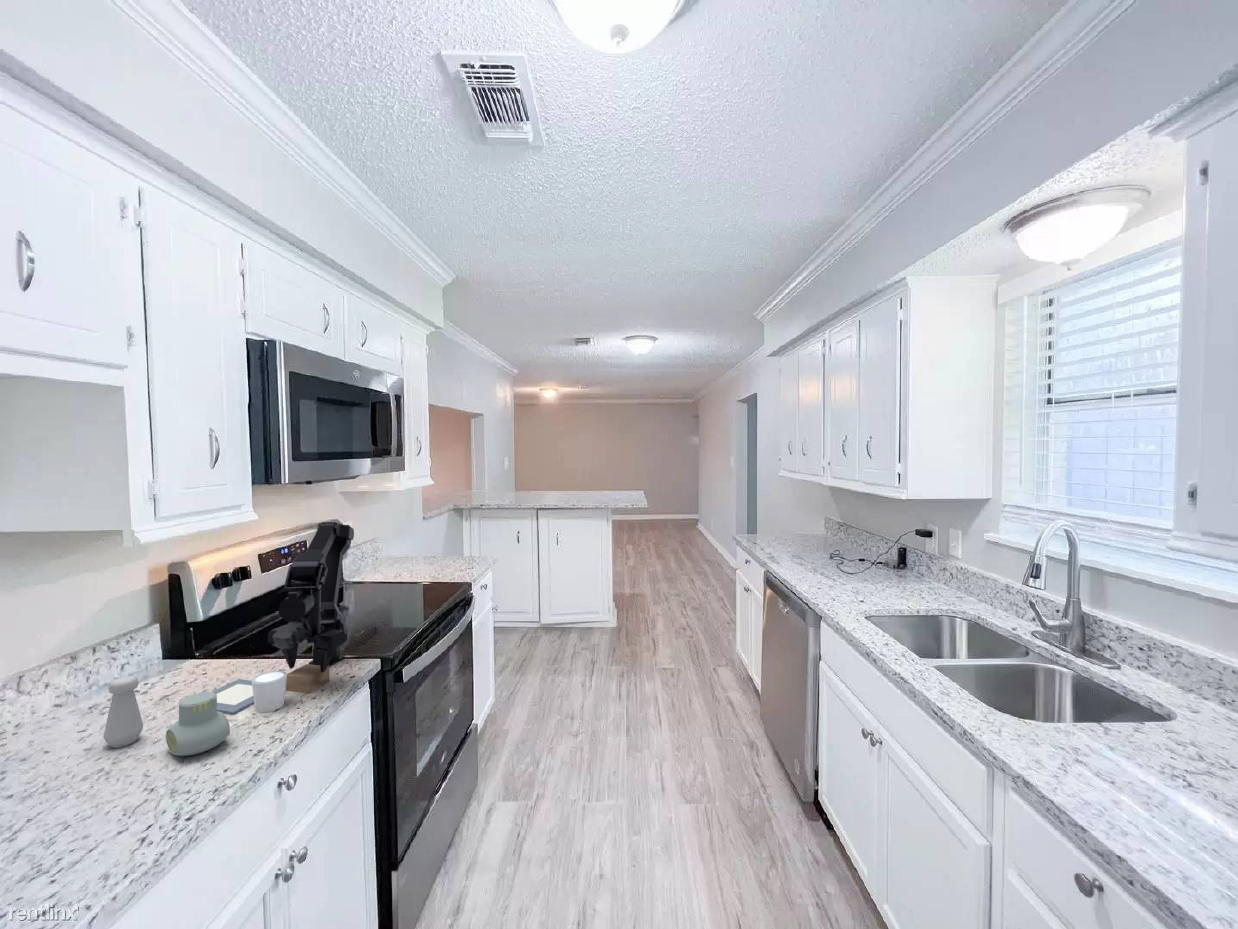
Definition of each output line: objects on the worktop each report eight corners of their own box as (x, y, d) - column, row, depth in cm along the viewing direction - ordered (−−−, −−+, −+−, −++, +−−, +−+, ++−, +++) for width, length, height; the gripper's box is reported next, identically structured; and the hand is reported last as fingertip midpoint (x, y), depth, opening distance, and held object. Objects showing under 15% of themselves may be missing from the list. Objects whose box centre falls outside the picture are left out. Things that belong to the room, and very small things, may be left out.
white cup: (248, 716, 116) (248, 685, 115) (255, 702, 122) (255, 673, 122) (284, 710, 118) (284, 680, 118) (289, 697, 125) (289, 668, 124)
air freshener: (162, 747, 103) (162, 698, 103) (213, 730, 110) (213, 683, 110) (181, 767, 97) (181, 714, 97) (233, 747, 104) (233, 698, 103)
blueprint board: (239, 681, 133) (239, 678, 133) (285, 687, 130) (285, 684, 130) (183, 707, 119) (183, 704, 119) (233, 714, 116) (233, 711, 116)
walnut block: (306, 679, 135) (306, 664, 135) (329, 682, 134) (329, 667, 134) (283, 691, 128) (283, 675, 128) (308, 694, 127) (308, 678, 127)
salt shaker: (98, 745, 103) (98, 680, 103) (135, 731, 108) (135, 670, 108) (111, 753, 101) (110, 687, 100) (148, 739, 106) (148, 676, 105)
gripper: (247, 615, 124) (247, 679, 125) (314, 622, 121) (314, 688, 121) (286, 602, 135) (286, 661, 136) (348, 608, 132) (348, 668, 132)
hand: (307, 670), depth 131 cm, fingers open, 9 cm apart
